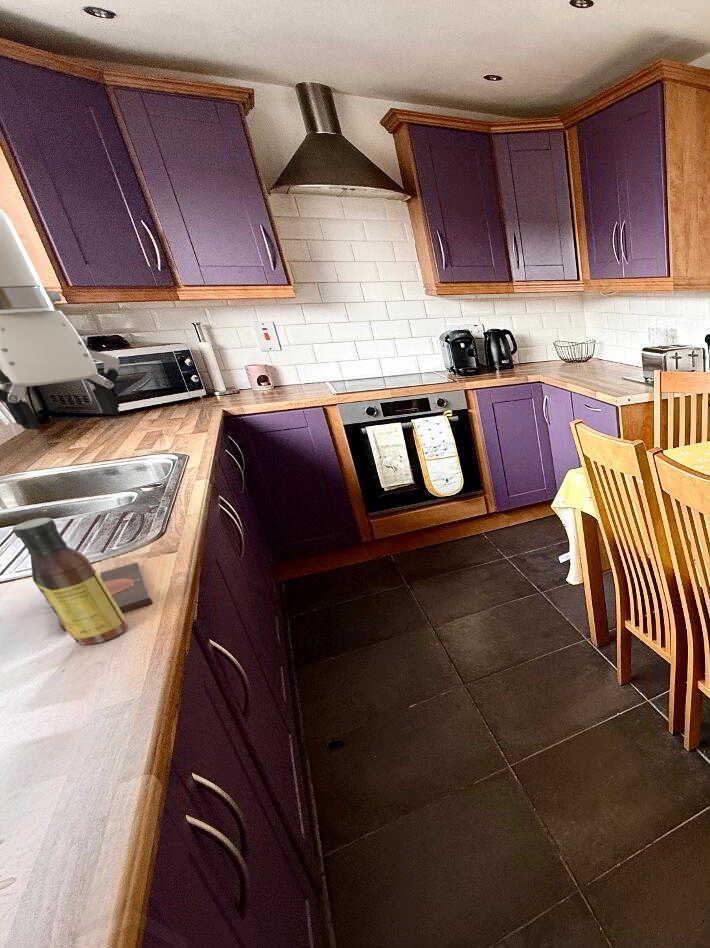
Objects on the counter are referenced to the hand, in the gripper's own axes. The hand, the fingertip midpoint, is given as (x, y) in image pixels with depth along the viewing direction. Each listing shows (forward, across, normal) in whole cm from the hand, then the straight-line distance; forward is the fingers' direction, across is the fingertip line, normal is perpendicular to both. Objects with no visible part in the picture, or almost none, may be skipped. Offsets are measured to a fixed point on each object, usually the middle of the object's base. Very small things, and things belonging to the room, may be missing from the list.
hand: (74, 420), depth 90 cm
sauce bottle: (+32, +12, +5) cm, 34 cm away
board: (+31, +3, -11) cm, 34 cm away
